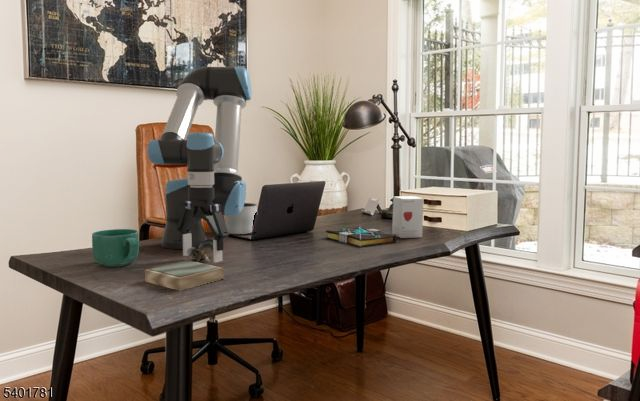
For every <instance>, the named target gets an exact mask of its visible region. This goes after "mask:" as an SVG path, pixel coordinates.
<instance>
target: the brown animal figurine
mask: <svg viewBox="0 0 640 401" xmlns="http://www.w3.org/2000/svg"><path fill="white" fill-rule="evenodd" d="M211 251H213V239H212V238H207V240H205V241H203V242H201V243H200V244H199V247H198V248H195V247H191V248H189V249H188V250H187V253H188V256H191V257H192V259H195V262H198V263H200V261H201V259H202V260H205V261H207V262H209V263H210V262H211V261H210V259H211V258H212V257H210V256H208V255H207V253H208V252H211Z"/></svg>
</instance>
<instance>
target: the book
mask: <svg viewBox="0 0 640 401" xmlns="http://www.w3.org/2000/svg"><path fill="white" fill-rule="evenodd" d="M325 233H327V236H325V239H328V240H332V241H337V242H340V243H343V244H349V245H353V246H356V247H359V248H364V247H365V248H366V247H369V246H376V245H383V244H384V245H385V244H395V243H396V244H397V243H398V237H397V234H392V233H388V232H382V230H381V229H376V228H365V227H361V226H359V227H358V226H357V227H352V228H345V227H344V226H342V229H337V230H336V229H335V230H333V229H326V230H325Z"/></svg>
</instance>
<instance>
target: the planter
mask: <svg viewBox="0 0 640 401" xmlns="http://www.w3.org/2000/svg"><path fill="white" fill-rule="evenodd" d="M256 212H257V213H258V204H256V203H251V202H245V203H244V207H243V209H242V211H241V212H240V213H239V214H238V215H228V216H225V215H224V216H225V217H224V222H225V225H226V228H227V230H228V233H229V235H231V234H246V233H251V232H252V226H253V220H254V215H255V213H256Z"/></svg>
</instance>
